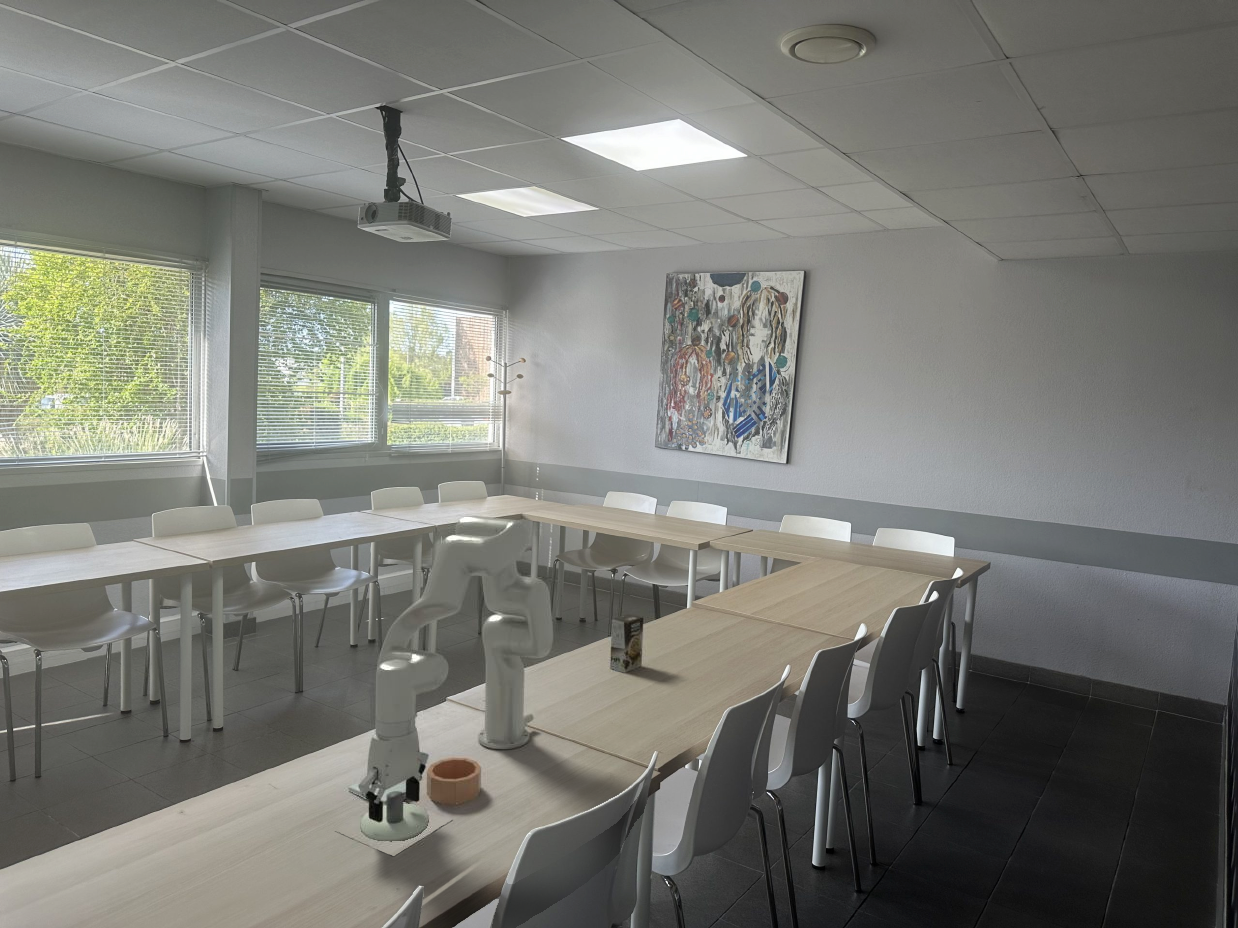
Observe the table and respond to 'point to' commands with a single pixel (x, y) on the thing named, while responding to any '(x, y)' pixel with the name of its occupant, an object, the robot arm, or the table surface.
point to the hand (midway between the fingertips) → (394, 809)
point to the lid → (396, 820)
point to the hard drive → (398, 787)
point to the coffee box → (626, 643)
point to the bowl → (453, 780)
